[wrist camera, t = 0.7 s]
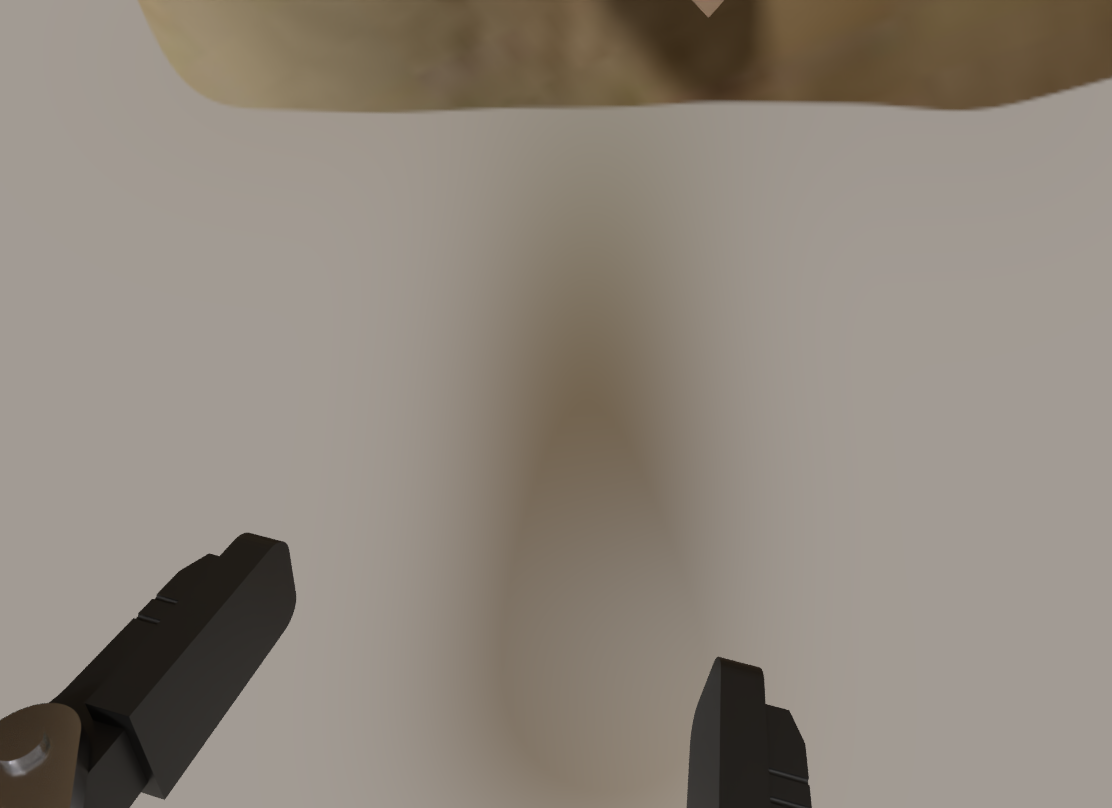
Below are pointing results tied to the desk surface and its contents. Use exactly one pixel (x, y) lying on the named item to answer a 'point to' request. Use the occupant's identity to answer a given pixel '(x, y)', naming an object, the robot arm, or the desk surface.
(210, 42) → the desk surface
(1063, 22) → the desk surface
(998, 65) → the desk surface
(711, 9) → the walnut slotted board
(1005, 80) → the desk surface
